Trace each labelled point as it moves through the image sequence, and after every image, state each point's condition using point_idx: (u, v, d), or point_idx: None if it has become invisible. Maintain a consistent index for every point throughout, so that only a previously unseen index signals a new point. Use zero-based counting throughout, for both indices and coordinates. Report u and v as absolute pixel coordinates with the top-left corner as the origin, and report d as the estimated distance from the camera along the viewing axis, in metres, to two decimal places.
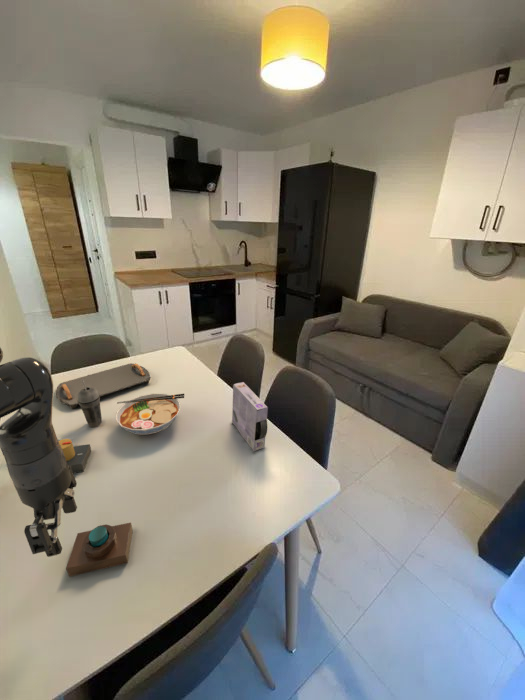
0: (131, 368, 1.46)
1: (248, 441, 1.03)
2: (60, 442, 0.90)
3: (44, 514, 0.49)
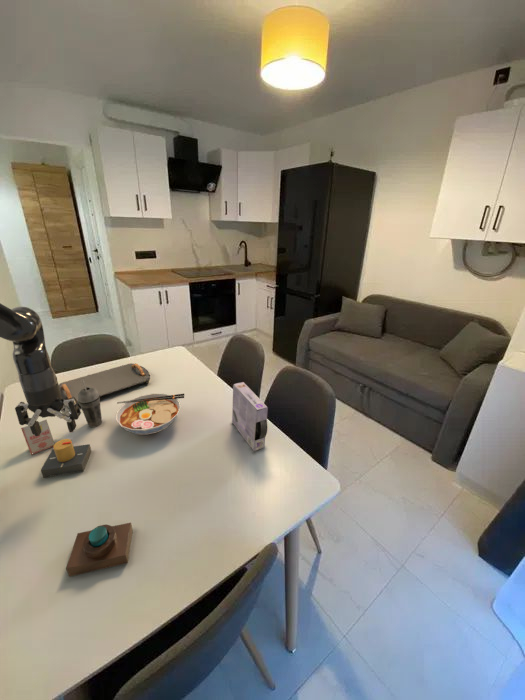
0: (131, 368, 1.46)
1: (248, 441, 1.03)
2: (60, 442, 0.90)
3: (64, 400, 0.80)
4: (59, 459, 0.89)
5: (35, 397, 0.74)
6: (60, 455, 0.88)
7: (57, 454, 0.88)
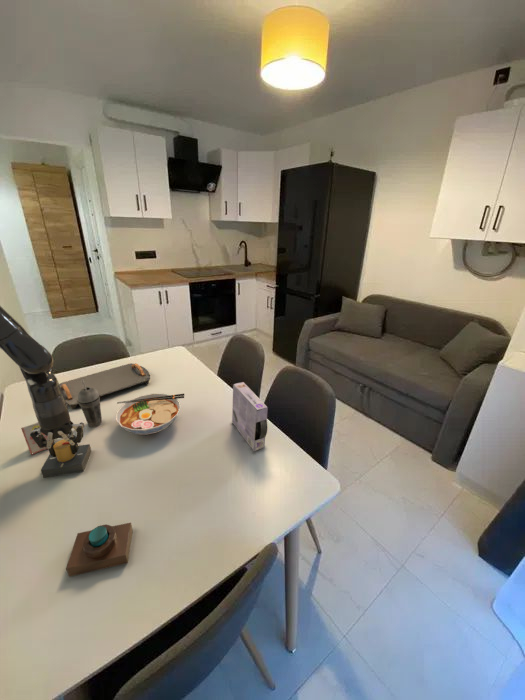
0: (131, 368, 1.46)
1: (248, 441, 1.03)
2: (60, 442, 0.90)
3: (72, 422, 0.88)
4: (59, 459, 0.89)
5: (48, 422, 0.82)
6: (60, 455, 0.88)
7: (57, 454, 0.88)
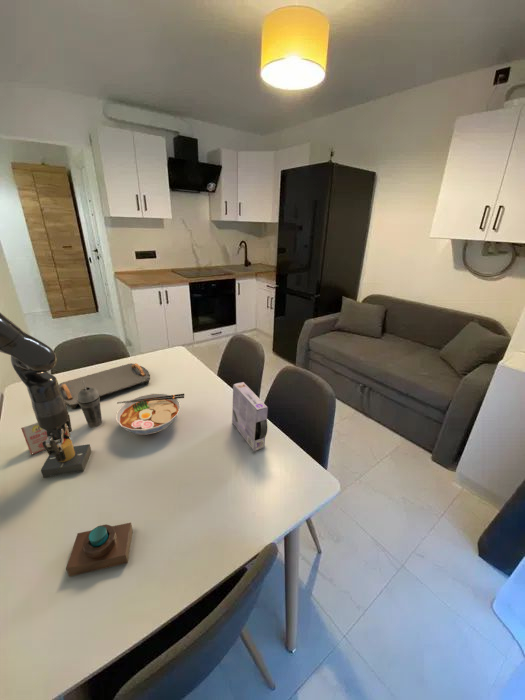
0: (131, 368, 1.46)
1: (248, 441, 1.03)
2: (58, 446, 0.89)
3: None
4: (72, 454, 0.91)
5: (66, 412, 0.86)
6: (72, 449, 0.91)
7: (70, 450, 0.90)
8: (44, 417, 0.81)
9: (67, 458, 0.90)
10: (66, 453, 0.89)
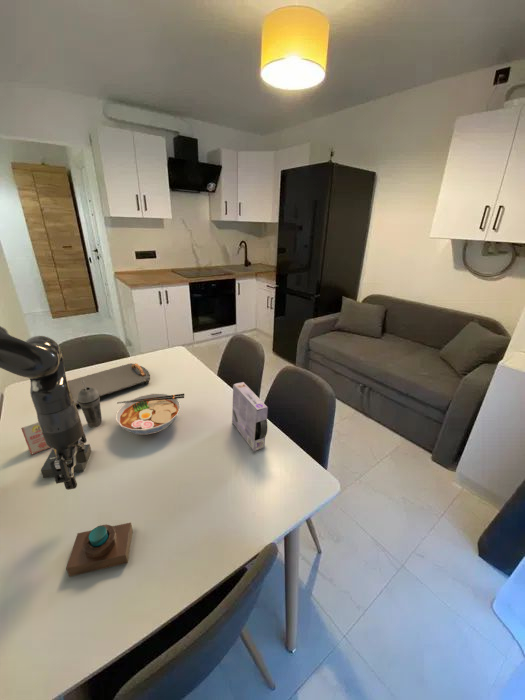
0: (131, 368, 1.46)
1: (248, 441, 1.03)
2: None
3: None
4: None
5: (80, 425, 0.68)
6: None
7: None
8: (53, 433, 0.63)
9: None
10: None
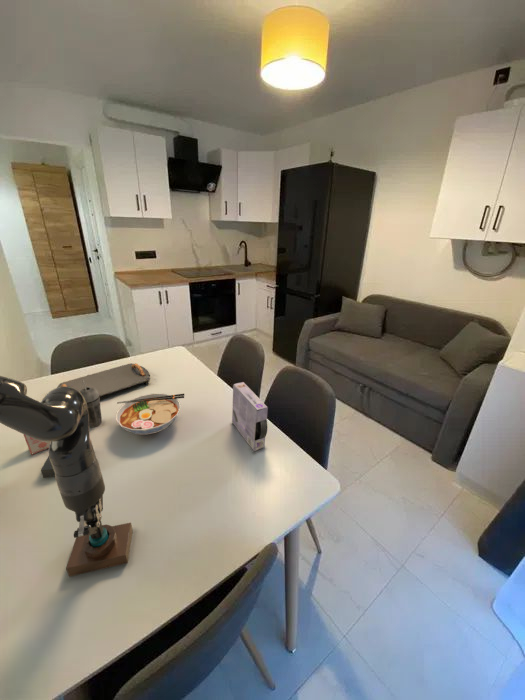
0: (131, 368, 1.46)
1: (248, 441, 1.03)
2: None
3: None
4: None
5: (102, 482, 0.61)
6: None
7: None
8: (73, 496, 0.56)
9: None
10: None
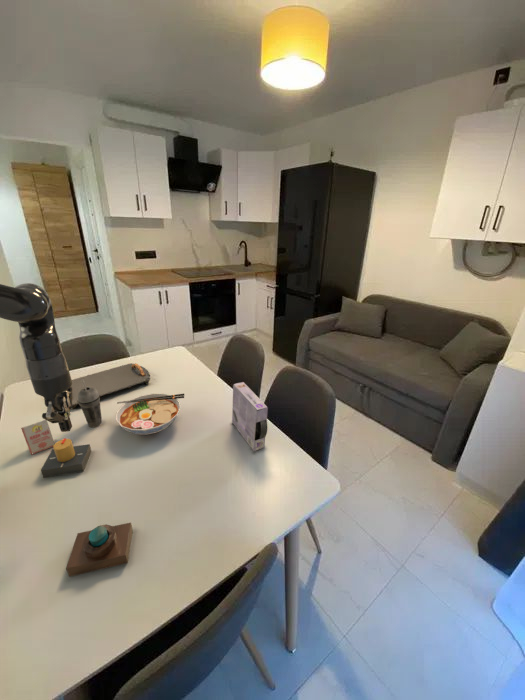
0: (131, 368, 1.46)
1: (248, 441, 1.03)
2: (58, 446, 0.89)
3: None
4: (72, 454, 0.91)
5: (69, 376, 0.70)
6: (72, 449, 0.91)
7: (70, 450, 0.90)
8: (41, 380, 0.65)
9: (67, 458, 0.90)
10: (66, 453, 0.89)
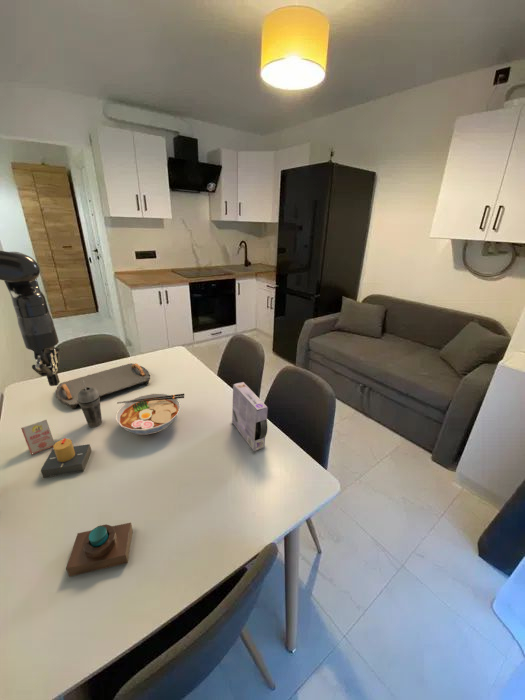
0: (131, 368, 1.46)
1: (248, 441, 1.03)
2: (58, 446, 0.89)
3: None
4: (72, 454, 0.91)
5: (55, 335, 0.80)
6: (72, 449, 0.91)
7: (70, 450, 0.90)
8: (31, 335, 0.75)
9: (67, 458, 0.90)
10: (66, 453, 0.89)
